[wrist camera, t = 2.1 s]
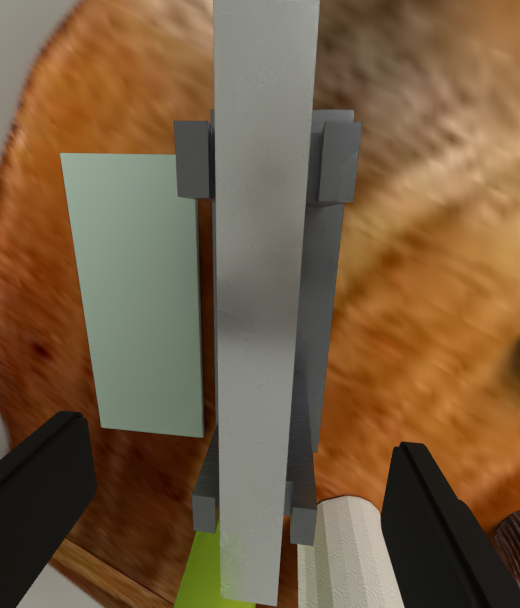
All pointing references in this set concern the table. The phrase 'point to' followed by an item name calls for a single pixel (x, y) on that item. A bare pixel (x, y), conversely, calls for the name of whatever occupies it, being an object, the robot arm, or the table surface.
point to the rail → (258, 269)
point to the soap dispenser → (205, 576)
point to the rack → (311, 307)
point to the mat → (139, 289)
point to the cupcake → (510, 544)
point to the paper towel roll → (347, 559)
